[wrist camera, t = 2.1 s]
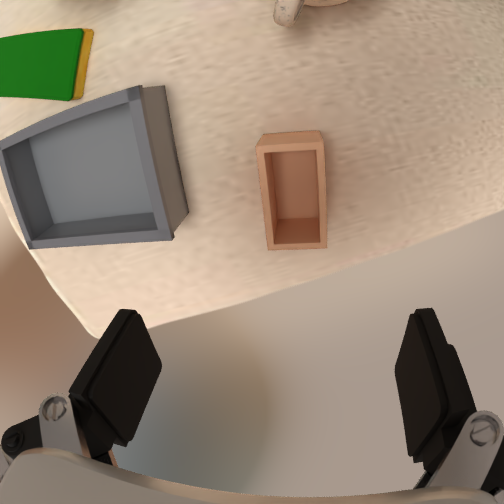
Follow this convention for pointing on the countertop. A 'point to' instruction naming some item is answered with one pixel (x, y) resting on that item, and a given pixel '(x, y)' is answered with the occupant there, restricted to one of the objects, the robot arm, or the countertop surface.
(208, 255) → the countertop surface
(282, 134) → the box
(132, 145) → the big crate
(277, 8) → the teacup with lid
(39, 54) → the dish sponge
